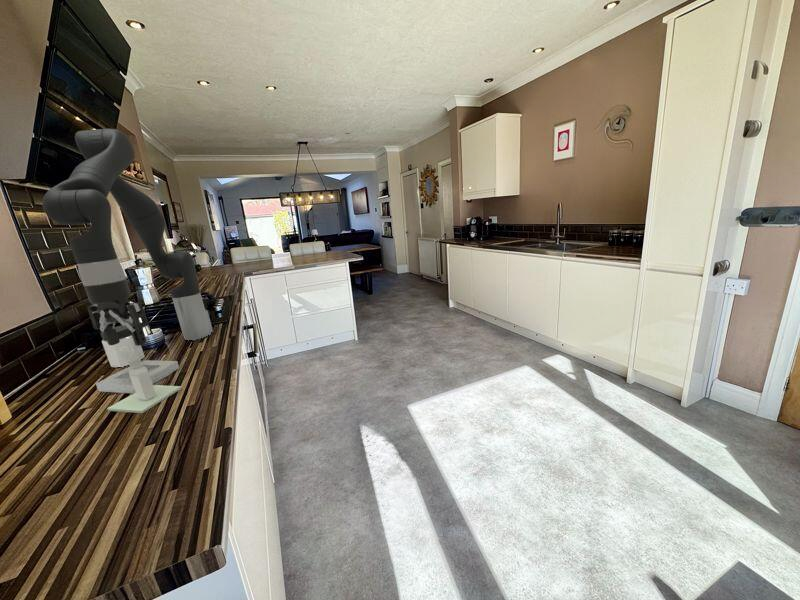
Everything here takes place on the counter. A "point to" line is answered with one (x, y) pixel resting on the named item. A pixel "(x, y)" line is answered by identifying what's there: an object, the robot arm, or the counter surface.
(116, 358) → the jar
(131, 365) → the eye dropper bottle
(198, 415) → the counter surface
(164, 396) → the sage mat
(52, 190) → the robot arm
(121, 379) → the collar block
